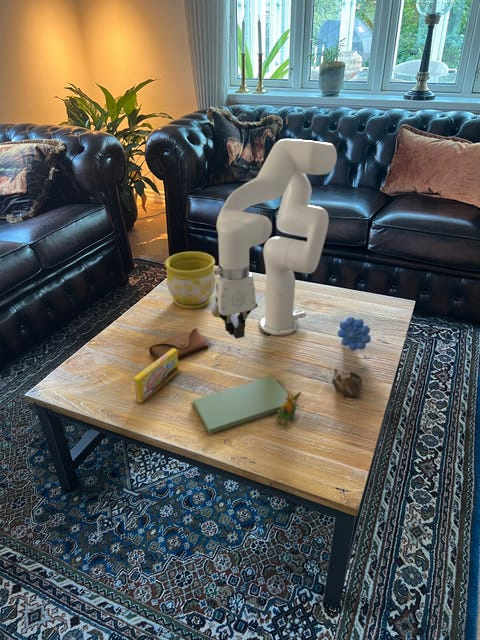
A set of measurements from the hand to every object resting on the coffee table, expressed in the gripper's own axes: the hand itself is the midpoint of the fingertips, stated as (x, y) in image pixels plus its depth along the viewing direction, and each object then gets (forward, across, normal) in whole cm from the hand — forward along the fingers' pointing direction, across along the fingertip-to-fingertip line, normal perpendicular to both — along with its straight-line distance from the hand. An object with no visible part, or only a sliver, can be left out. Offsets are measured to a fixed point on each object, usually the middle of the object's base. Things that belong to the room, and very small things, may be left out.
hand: (235, 330), depth 121 cm
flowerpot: (+15, +1, +47) cm, 49 cm away
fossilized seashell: (+15, +26, -18) cm, 35 cm away
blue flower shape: (+15, +39, -3) cm, 42 cm away
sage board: (+15, -3, -13) cm, 20 cm away
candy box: (+15, -22, +3) cm, 27 cm away
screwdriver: (0, 0, +4) cm, 4 cm away
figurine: (+15, +6, -22) cm, 28 cm away
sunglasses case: (+15, -12, +18) cm, 26 cm away
